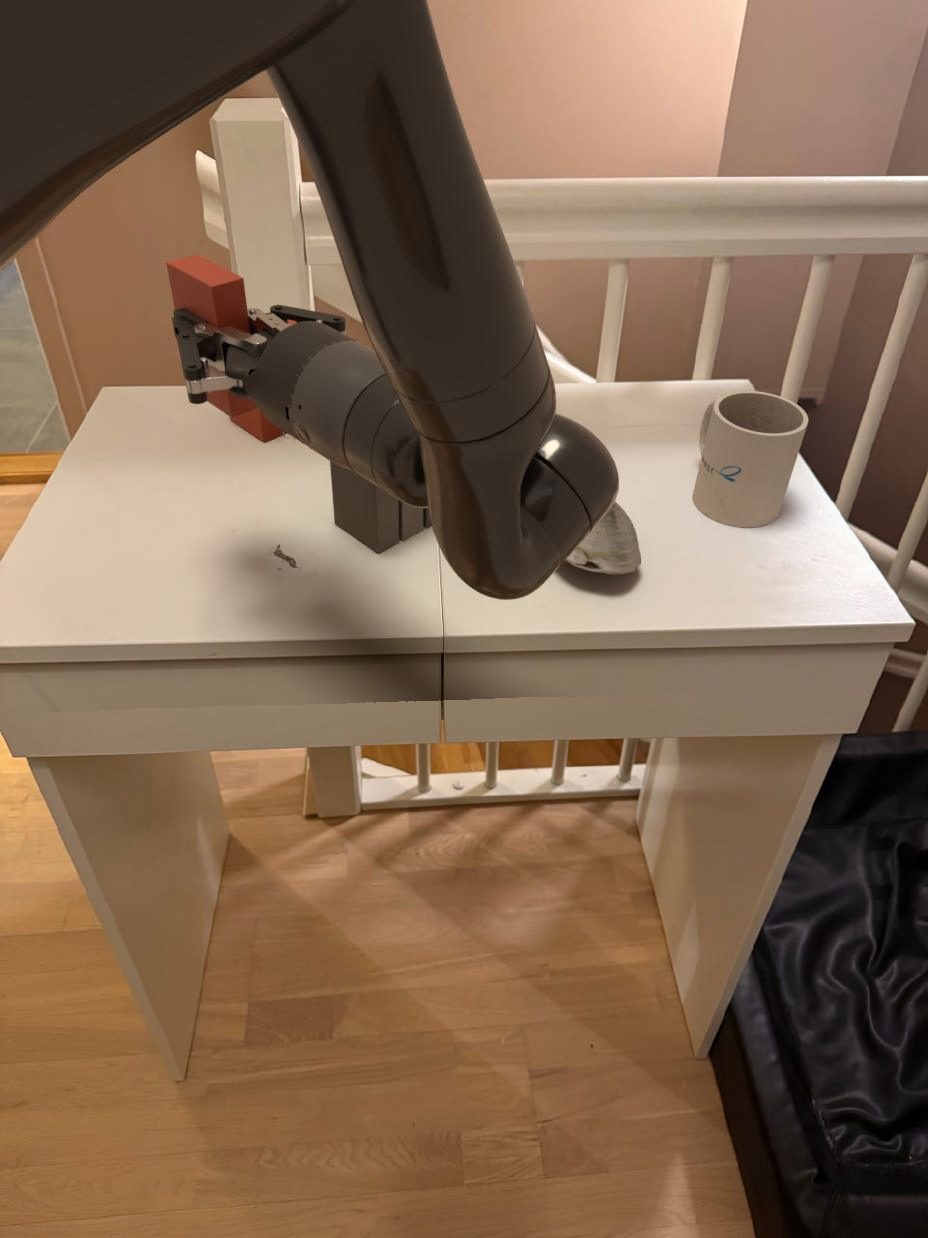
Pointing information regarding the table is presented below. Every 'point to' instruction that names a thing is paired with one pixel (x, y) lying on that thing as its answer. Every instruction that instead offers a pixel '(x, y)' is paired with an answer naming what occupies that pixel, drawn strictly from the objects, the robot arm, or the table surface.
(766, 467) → the mug
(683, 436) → the table surface
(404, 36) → the robot arm
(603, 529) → the seashell
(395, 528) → the grey books
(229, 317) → the red book
